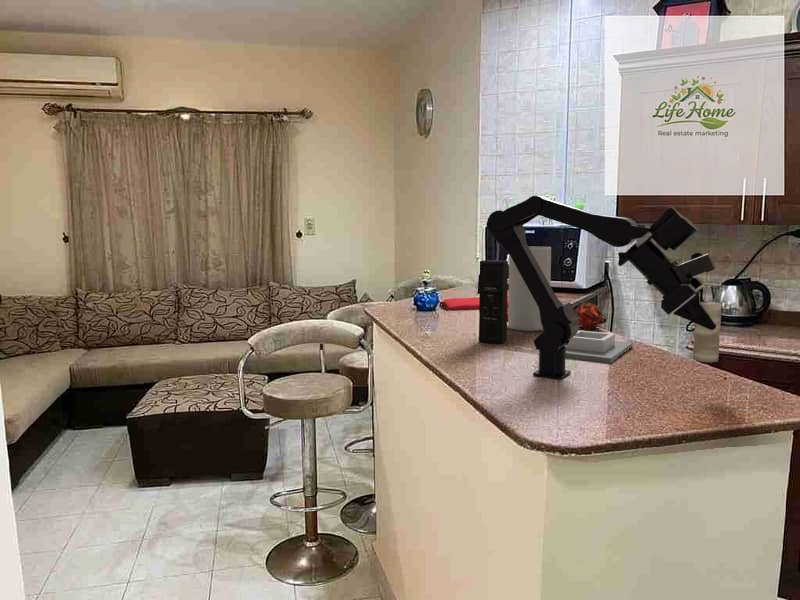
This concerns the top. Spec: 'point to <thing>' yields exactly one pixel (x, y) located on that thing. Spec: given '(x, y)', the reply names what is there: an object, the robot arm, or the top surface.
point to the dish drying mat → (463, 303)
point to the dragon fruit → (589, 316)
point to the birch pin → (708, 335)
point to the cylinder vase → (526, 293)
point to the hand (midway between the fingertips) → (715, 326)
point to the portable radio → (493, 301)
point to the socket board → (595, 347)
